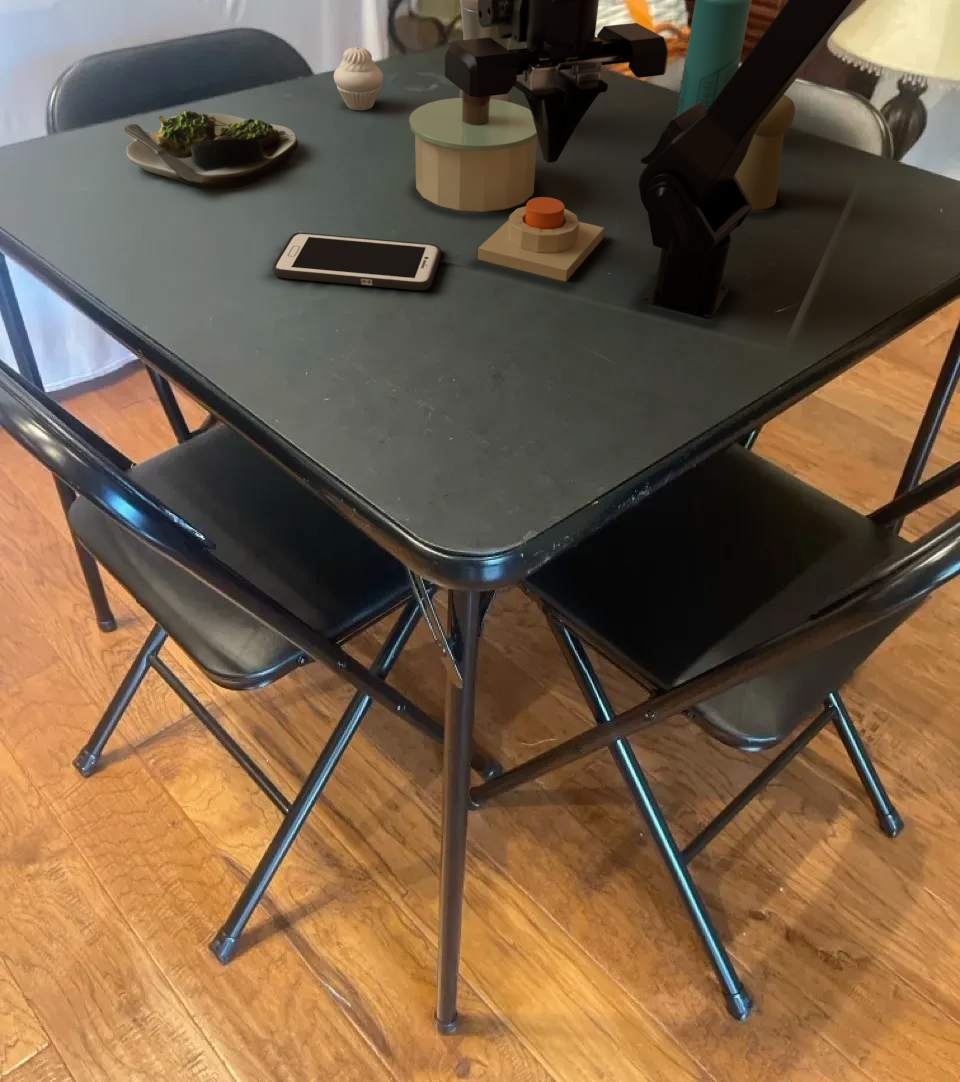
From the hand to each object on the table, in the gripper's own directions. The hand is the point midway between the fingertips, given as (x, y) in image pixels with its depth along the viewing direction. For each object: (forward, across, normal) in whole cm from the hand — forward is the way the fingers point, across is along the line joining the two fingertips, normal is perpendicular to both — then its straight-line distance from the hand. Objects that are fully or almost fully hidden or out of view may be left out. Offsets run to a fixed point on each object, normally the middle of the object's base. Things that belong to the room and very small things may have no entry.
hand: (549, 160), depth 83 cm
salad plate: (+9, +24, -33) cm, 42 cm away
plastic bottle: (+9, -8, -32) cm, 34 cm away
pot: (+9, 0, -16) cm, 18 cm away
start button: (+6, 0, 0) cm, 6 cm away
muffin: (+9, +3, -44) cm, 45 cm away
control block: (+9, 0, 0) cm, 9 cm away
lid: (+2, 0, -15) cm, 15 cm away
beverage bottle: (+9, -32, -20) cm, 39 cm away
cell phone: (+9, +18, -4) cm, 20 cm away
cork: (+9, -26, -2) cm, 28 cm away
